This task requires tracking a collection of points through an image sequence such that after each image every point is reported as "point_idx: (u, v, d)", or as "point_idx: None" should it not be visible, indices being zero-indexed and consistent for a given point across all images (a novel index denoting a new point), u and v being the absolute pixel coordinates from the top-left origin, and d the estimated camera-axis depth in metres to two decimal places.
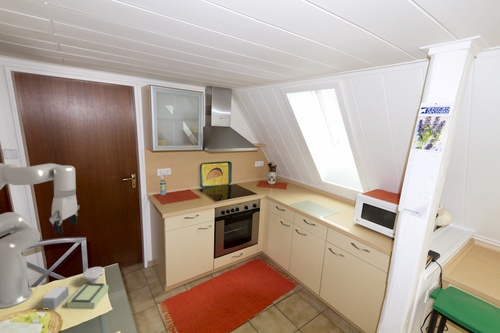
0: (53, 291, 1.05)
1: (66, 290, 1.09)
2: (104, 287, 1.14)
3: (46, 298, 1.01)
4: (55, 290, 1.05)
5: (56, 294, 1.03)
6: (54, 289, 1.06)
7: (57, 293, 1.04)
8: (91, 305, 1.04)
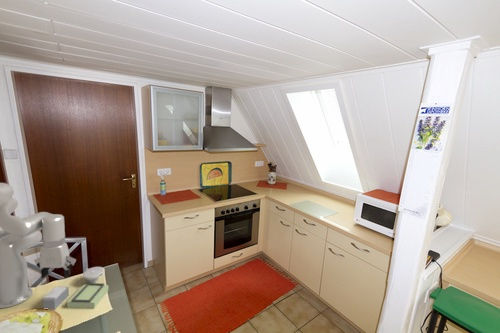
0: (53, 291, 1.05)
1: (66, 290, 1.09)
2: (104, 287, 1.14)
3: (46, 298, 1.01)
4: (55, 290, 1.06)
5: (56, 294, 1.03)
6: (54, 289, 1.06)
7: (57, 293, 1.04)
8: (91, 305, 1.04)
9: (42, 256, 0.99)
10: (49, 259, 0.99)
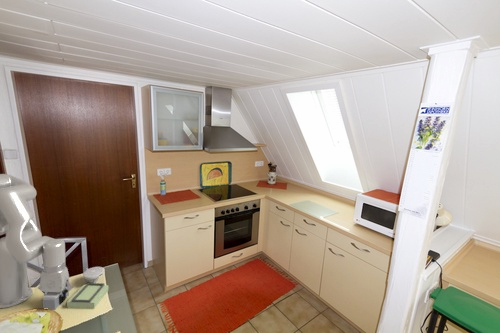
0: None
1: None
2: (104, 287, 1.14)
3: (47, 298, 1.01)
4: None
5: (57, 293, 1.03)
6: None
7: (57, 292, 1.04)
8: (91, 305, 1.04)
9: (42, 281, 1.01)
10: (50, 284, 1.01)
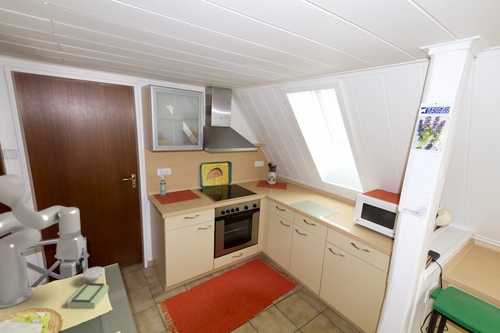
0: None
1: None
2: (104, 287, 1.14)
3: (64, 265, 1.01)
4: None
5: (73, 261, 1.03)
6: None
7: (74, 261, 1.04)
8: (91, 305, 1.04)
9: (59, 248, 1.01)
10: (66, 251, 1.01)
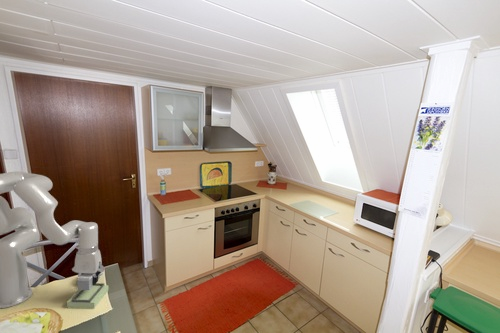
0: None
1: None
2: (104, 287, 1.14)
3: (81, 278, 1.04)
4: None
5: (90, 275, 1.06)
6: None
7: (91, 274, 1.07)
8: (91, 305, 1.04)
9: (77, 262, 1.04)
10: (84, 265, 1.04)
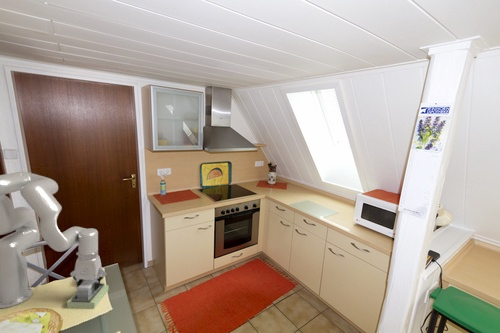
0: (86, 281, 1.09)
1: None
2: (104, 287, 1.14)
3: (81, 288, 1.05)
4: (88, 280, 1.09)
5: (89, 284, 1.07)
6: (87, 279, 1.10)
7: (90, 283, 1.08)
8: (91, 305, 1.04)
9: (77, 268, 1.04)
10: (84, 271, 1.05)
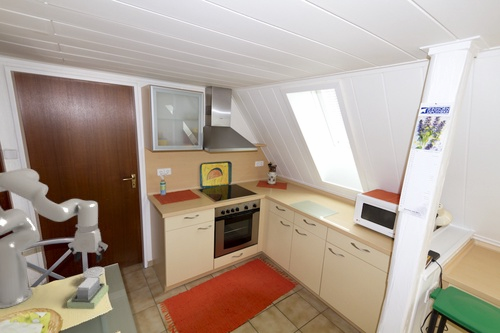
0: (86, 281, 1.09)
1: (98, 281, 1.12)
2: (104, 287, 1.14)
3: (81, 288, 1.05)
4: (88, 280, 1.09)
5: (89, 284, 1.07)
6: (87, 279, 1.10)
7: (90, 283, 1.08)
8: (91, 305, 1.04)
9: (76, 240, 1.02)
10: (83, 244, 1.03)
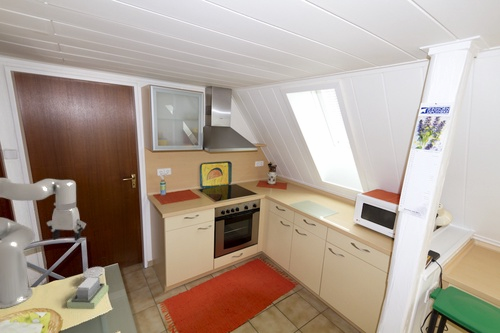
0: (86, 281, 1.09)
1: (98, 281, 1.12)
2: (104, 287, 1.14)
3: (81, 288, 1.05)
4: (88, 280, 1.09)
5: (89, 284, 1.07)
6: (87, 279, 1.10)
7: (90, 283, 1.08)
8: (91, 305, 1.04)
9: (54, 218, 1.05)
10: (61, 221, 1.05)
